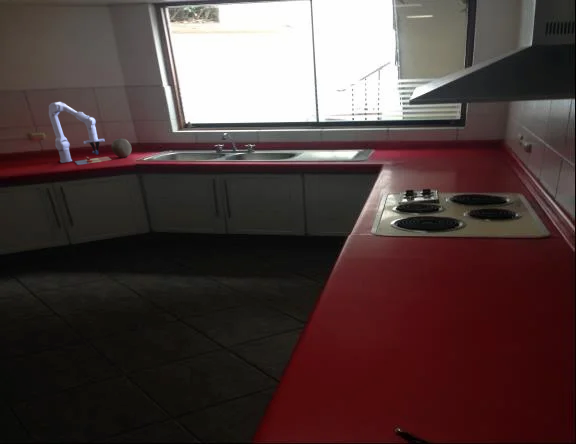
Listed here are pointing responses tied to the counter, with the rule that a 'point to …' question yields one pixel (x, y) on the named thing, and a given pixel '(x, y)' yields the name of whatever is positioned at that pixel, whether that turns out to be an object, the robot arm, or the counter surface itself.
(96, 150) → the blue spoon
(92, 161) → the red spoon
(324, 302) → the counter surface
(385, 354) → the counter surface
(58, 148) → the robot arm
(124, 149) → the cantaloupe
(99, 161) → the board
